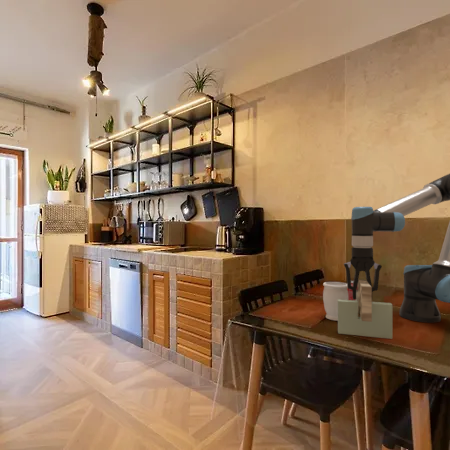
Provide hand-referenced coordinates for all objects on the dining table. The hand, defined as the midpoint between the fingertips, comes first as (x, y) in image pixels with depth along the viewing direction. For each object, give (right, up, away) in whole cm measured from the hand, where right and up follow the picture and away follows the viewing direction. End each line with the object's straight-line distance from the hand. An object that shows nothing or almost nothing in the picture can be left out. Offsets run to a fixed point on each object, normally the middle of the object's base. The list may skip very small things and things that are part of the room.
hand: (362, 307), depth 116 cm
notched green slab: (-1, -9, -5) cm, 10 cm away
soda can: (+11, -9, +30) cm, 33 cm away
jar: (-5, -9, +15) cm, 18 cm away
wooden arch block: (-1, -2, -5) cm, 5 cm away
